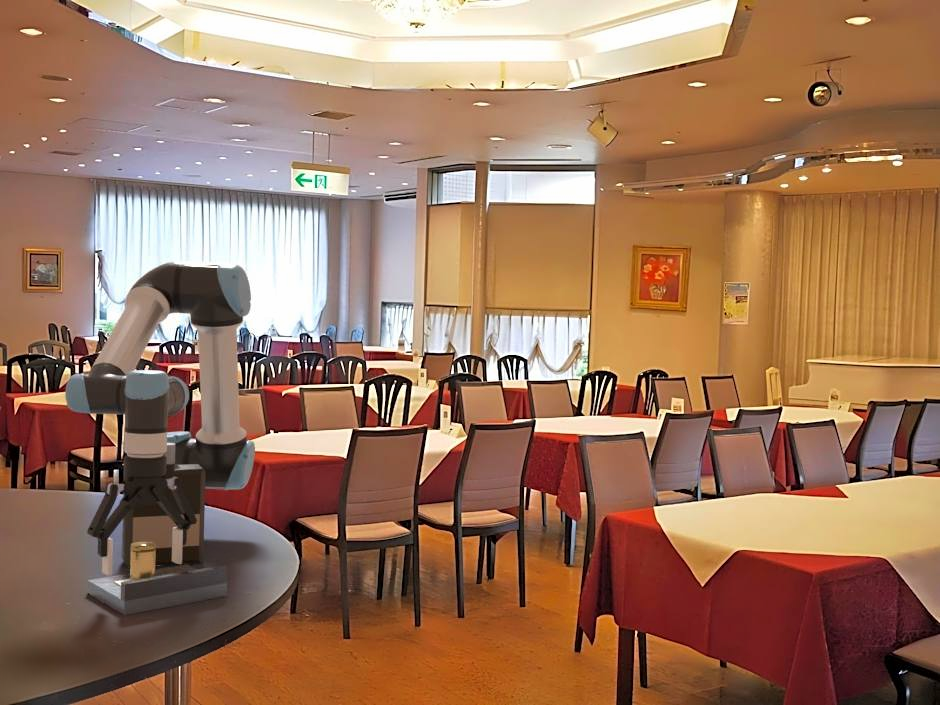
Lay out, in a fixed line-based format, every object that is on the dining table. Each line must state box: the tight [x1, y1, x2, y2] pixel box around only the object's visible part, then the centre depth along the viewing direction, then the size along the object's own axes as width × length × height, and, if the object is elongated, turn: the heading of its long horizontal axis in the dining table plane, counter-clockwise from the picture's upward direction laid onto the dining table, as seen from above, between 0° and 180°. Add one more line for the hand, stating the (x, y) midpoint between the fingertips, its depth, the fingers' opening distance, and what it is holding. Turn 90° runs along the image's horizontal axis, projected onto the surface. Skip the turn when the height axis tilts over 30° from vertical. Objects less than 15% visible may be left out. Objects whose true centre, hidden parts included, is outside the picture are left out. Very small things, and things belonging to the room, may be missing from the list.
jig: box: [87, 564, 228, 616], centre depth 190 cm, size 20×16×6 cm
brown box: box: [121, 443, 206, 569], centre depth 213 cm, size 8×16×25 cm, turn 115°
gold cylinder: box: [129, 542, 156, 581], centre depth 188 cm, size 4×4×10 cm
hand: (142, 568), depth 188 cm, fingers open, 13 cm apart
